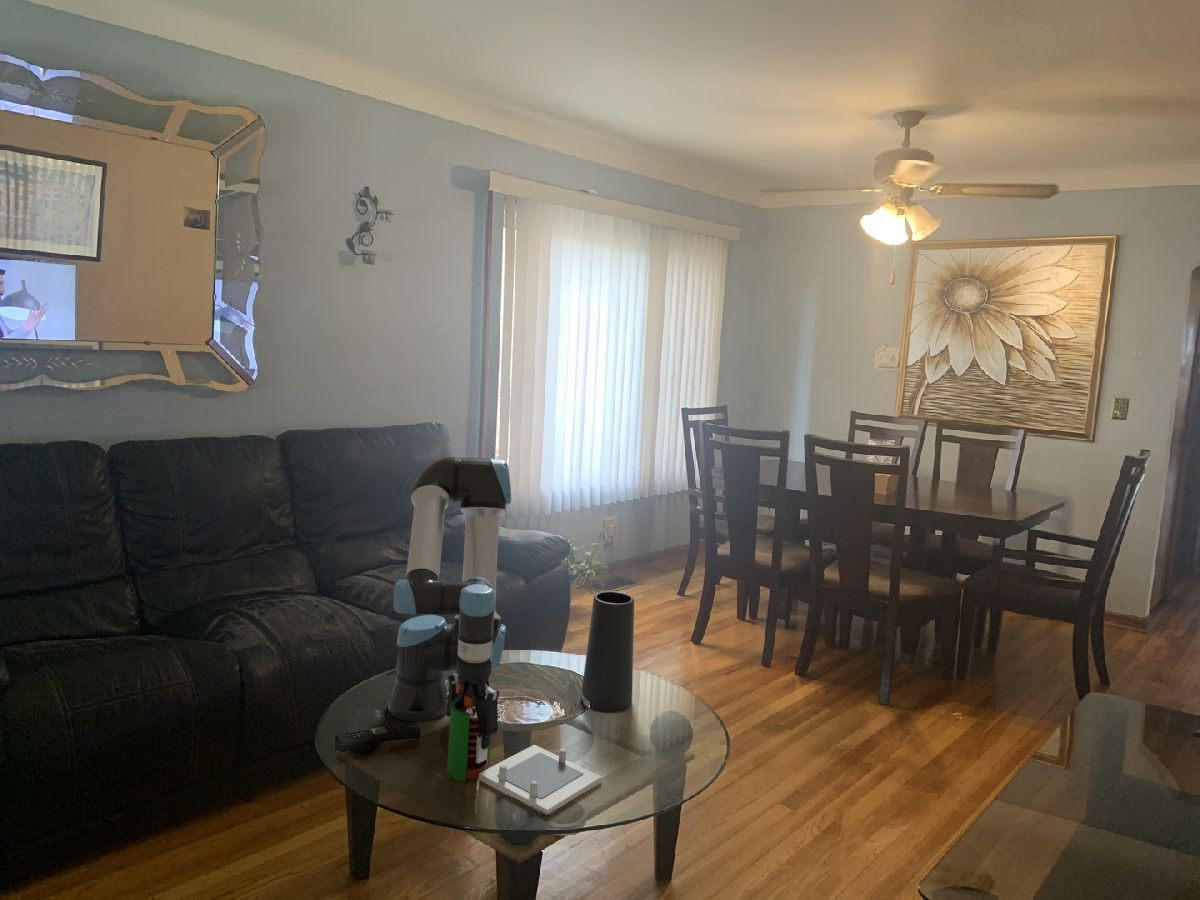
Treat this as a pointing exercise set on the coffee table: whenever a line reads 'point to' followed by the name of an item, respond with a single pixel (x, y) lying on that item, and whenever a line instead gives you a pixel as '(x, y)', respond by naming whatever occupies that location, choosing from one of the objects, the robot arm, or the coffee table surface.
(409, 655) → the robot arm
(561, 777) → the mounting board
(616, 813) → the coffee table surface
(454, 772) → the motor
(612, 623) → the vase
